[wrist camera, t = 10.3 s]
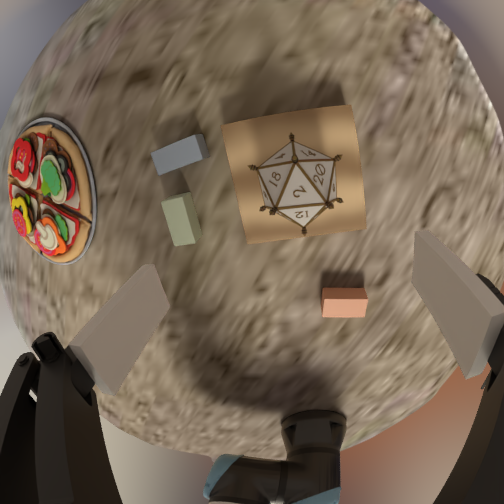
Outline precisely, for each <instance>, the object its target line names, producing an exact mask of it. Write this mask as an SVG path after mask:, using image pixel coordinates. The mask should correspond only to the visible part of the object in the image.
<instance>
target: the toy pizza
mask: <svg viewBox="0 0 504 504" xmlns="http://www.w3.org/2000/svg"><path fill="white" fill-rule="evenodd" d="M8 192H9V199H10V204H11V209H12V213H13V221H14V224H15V226H16V229H17V231H18V232H19V234H20V235H21V236H23V238H24V239H25V240H26V241H27V242H28V244H29V245H30V246H31V247H32V248H33V249H34V250H35V251H36V252H37V253H38V254H39V255H40V256H41V257H43V258H44V259H46V260H47V261H49V262H52V263H54V264H58V265H68V264H72V263H74V262H76V261H77V260H79V259H80V258H81V257H82V256H83V255H84V254H85V252H86V251H87V249H88V247H89V245H90V243H91V241H92V238H93V234H94V230H95V224H96V212H97V204H96V191H95V185H94V179H93V174H92V170H91V167H90V164H89V161H88V158H87V155H86V153H85V151H84V148H83V146H82V145H81V143H80V141H79V140H78V138H77V137H76V135H75V134H74V133H73V131H72V130H71V129H70V128H69V127H68V126H67V125H65V124H64V123H63V122H61V121H59V120H57V119H54V118H49V117H44V118H39V119H36V120H34V121H32V122H31V123H29V124H28V125H27V126H26V127H25V128H24V129H23V130H22V132H21V133H20V134H19V136H18V138H17V140H16V142H15V144H14V147H13V148H12V151H11V153H10V158H9V166H8Z"/></svg>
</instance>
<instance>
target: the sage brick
mask: <svg viewBox="0 0 504 504" xmlns="http://www.w3.org/2000/svg"><path fill="white" fill-rule="evenodd" d="M161 204H162V207H163V211H164V214H165V217H166V221H167V224H168V227H169V230H170V234H171V237H172V240H173V243H174V246H181V245H187V244H194V243H196V242H197V241H198V240H199V238H200V237H201V236H202V231H201V228H200V224H199V221H198V217H197V214H196V210H195V206H194V203H193V199H192V195H191V192H187V193H182V194H178V195H174V196H170V197H168V198H167V199H165V200H163V201H162V202H161Z"/></svg>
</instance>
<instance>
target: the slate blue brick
mask: <svg viewBox="0 0 504 504" xmlns="http://www.w3.org/2000/svg"><path fill="white" fill-rule="evenodd" d="M151 156H152V159H153V162H154V164H155V167H156V170H157V173H158V176H160V175H162V174H164V173H167V172H170V171H172V170H175V169H177V168H180V167H183V166H185V165H188V164H191V163H194V162H196V161H199V160H202V159H205V158H208V157H210V155H209V152H208V149H207V146H206V143H205V140H204V137H203V134H196V135H192V136H190V137H187V138H185V139H182V140H180V141H177V142H175V143H173V144H170V145H168V146H165V147H163V148H161V149H159V150H156V151H154V152H152V153H151Z"/></svg>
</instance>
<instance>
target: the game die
mask: <svg viewBox="0 0 504 504" xmlns="http://www.w3.org/2000/svg"><path fill="white" fill-rule="evenodd" d="M294 136H295V135H293V134H292V132H291V133H290V135H289V139H290V142H289V143H288V144H287V145H285V146H284V147H283V148H281V149H280V150H279V151H278V152H276V153H275V154H274V155H273V156H271V157H270V158H269V159H267V160H266V161H265V162H264V163H262V164H261V165H260V166H259V167H256V166H255V165H253V164H252V165H247V166H248V167H249V168H250V170H253V171H254V170H256V171H257V175H258V179H259V183H260V188H261V192H262V196H263V201H264V206H262V207H260V210H259V211H262V212H263V211H264V210H266V208H267V209H269V210H270V211H269V213H270V215H275V213H277V214H278V215H280V216H282V217H284V218H286V219H288V220H289V221H291V222H293V223H295V224H297V225H299V226H300V227H302V230H301V231H302V234H303V235H304V236H306V234H307V230H306V226H308V225H309V224H310V223H311V222H312V221H313V220H314V219H316V218H317V217H318V216H319V215H320V214H321V213H322V212H324V211H325V210H326V209H327V208H329V209H334V205H333V203H334V202H335V201H337V202H339V203H344V202H343V200H342V198H340V197H339V198H337V182H336V161H339V160H341V157H342V155H343V154H342V155H338V154H337V156H335V157H334V158H331V157H329V156H327V155H325V154H323V153H320V152H318V151H316V150H314V149H311V148H309V147H307V146H305V145H302V144H300V143H298V142H295V141H294Z"/></svg>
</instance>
